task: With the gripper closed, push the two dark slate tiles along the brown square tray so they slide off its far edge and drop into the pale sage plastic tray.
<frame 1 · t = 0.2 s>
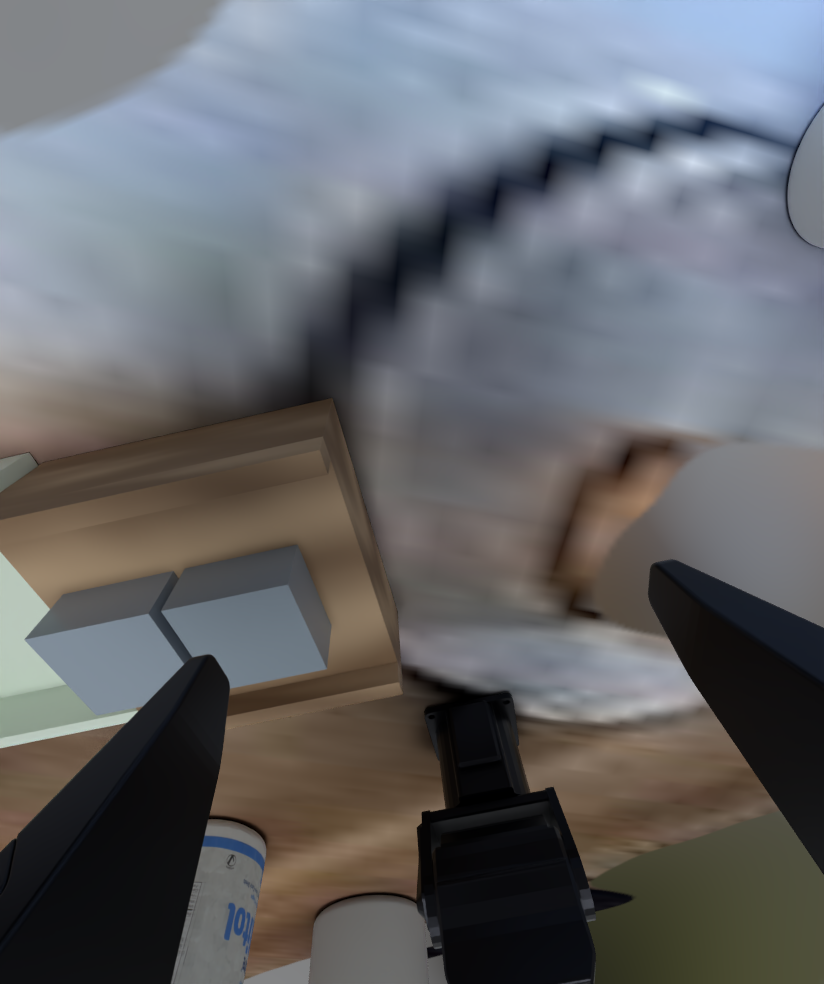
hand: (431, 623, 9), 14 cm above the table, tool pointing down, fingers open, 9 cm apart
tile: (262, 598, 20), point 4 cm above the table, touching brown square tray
supplement tub: (214, 838, 40), on the table
cylinder vase: (369, 912, 51), on the table
brown square tray: (244, 547, 24), on the table
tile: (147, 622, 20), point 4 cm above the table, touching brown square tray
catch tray: (5, 598, 25), on the table
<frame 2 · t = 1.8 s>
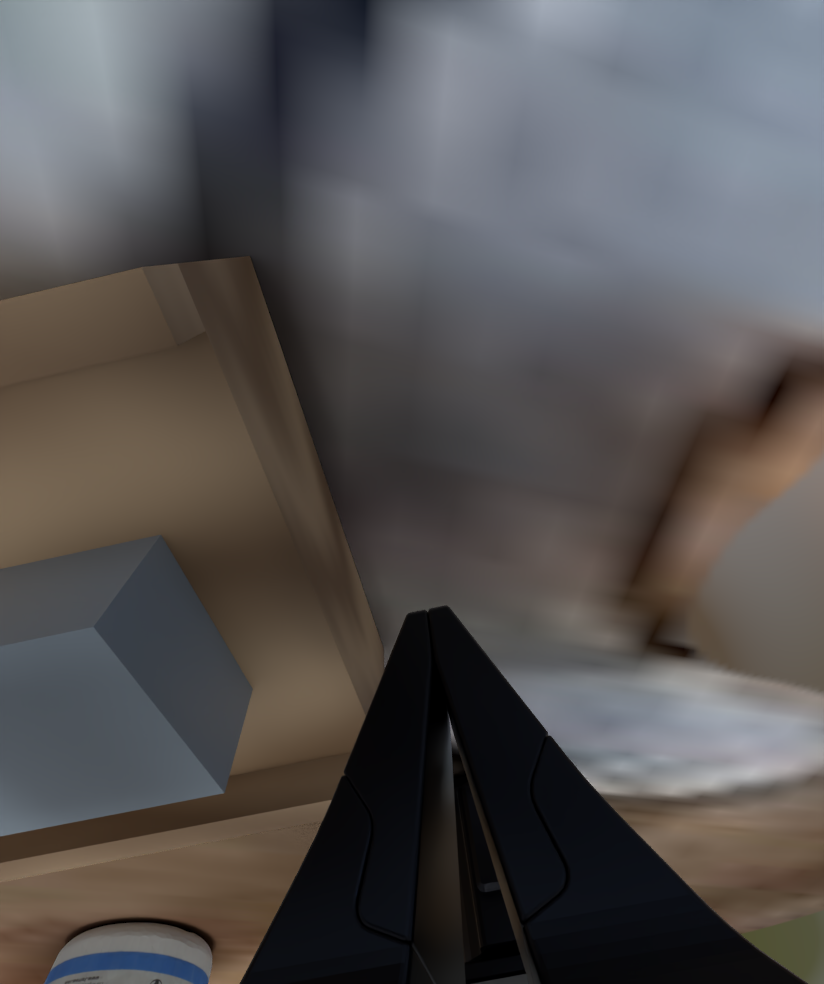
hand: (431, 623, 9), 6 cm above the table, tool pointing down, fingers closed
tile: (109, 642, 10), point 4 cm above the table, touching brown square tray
supplement tub: (142, 941, 30), on the table
brown square tray: (122, 545, 14), on the table
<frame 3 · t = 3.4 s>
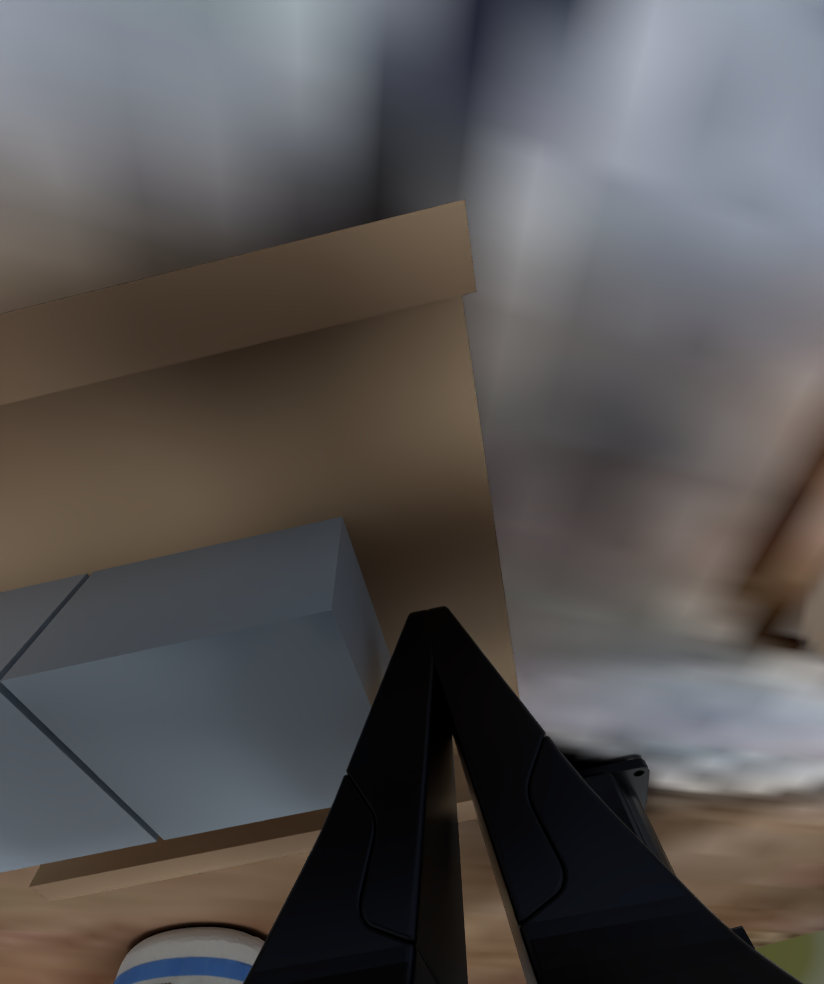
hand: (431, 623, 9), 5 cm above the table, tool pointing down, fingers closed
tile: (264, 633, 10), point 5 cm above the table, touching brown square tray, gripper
supplement tub: (204, 946, 29), on the table
brown square tray: (244, 534, 14), on the table
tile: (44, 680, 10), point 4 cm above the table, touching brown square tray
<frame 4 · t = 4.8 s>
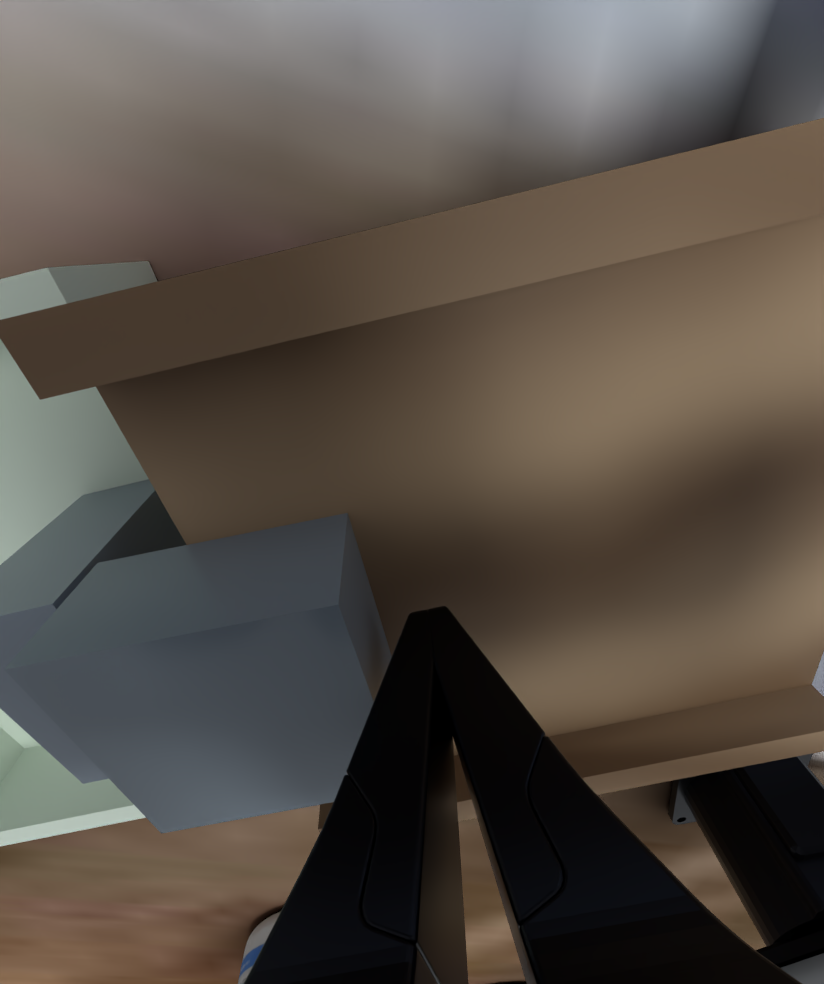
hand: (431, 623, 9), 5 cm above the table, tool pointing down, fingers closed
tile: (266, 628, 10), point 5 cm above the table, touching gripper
supplement tub: (323, 924, 29), on the table
brown square tray: (499, 478, 14), on the table
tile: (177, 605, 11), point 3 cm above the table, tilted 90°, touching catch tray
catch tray: (71, 573, 14), on the table
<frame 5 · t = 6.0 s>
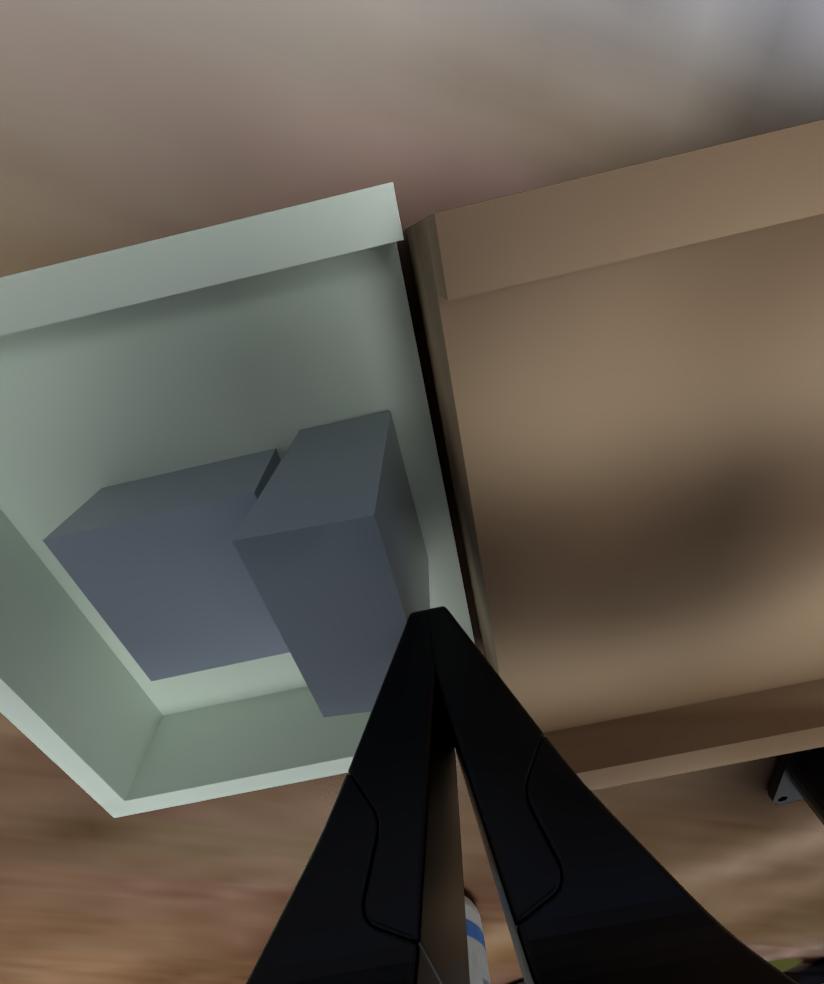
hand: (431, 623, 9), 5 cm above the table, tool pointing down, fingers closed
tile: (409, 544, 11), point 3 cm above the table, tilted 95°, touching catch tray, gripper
supplement tub: (404, 906, 29), on the table
brown square tray: (679, 437, 13), on the table
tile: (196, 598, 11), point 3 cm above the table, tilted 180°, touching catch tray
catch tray: (241, 532, 14), on the table
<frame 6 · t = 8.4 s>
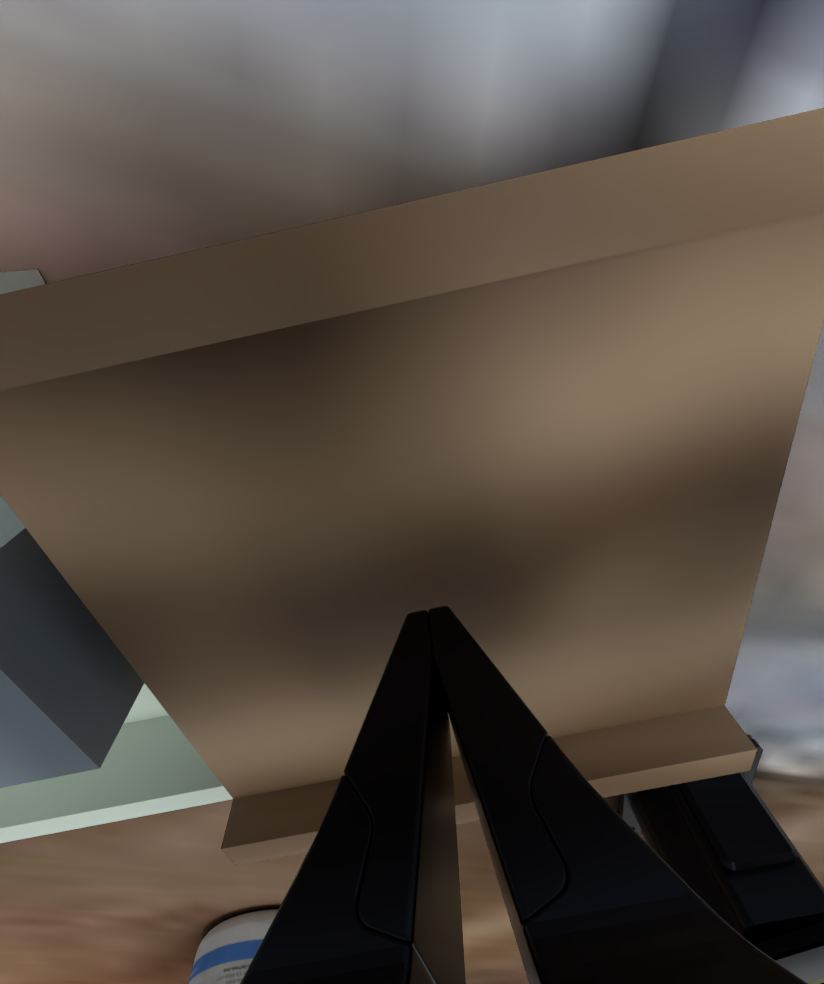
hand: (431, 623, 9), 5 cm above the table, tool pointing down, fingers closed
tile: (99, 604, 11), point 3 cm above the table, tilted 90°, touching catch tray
supplement tub: (277, 929, 29), on the table
brown square tray: (421, 493, 13), on the table
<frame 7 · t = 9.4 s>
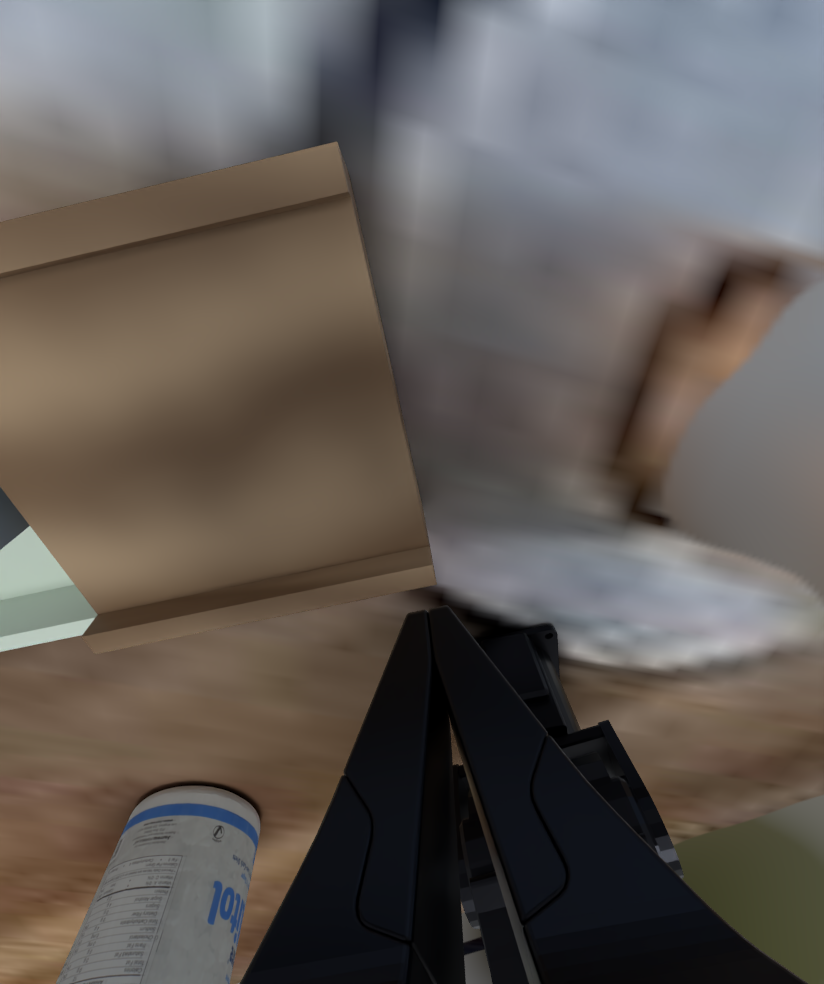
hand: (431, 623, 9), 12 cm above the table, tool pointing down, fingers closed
supplement tub: (200, 810, 35), on the table
brown square tray: (233, 407, 19), on the table
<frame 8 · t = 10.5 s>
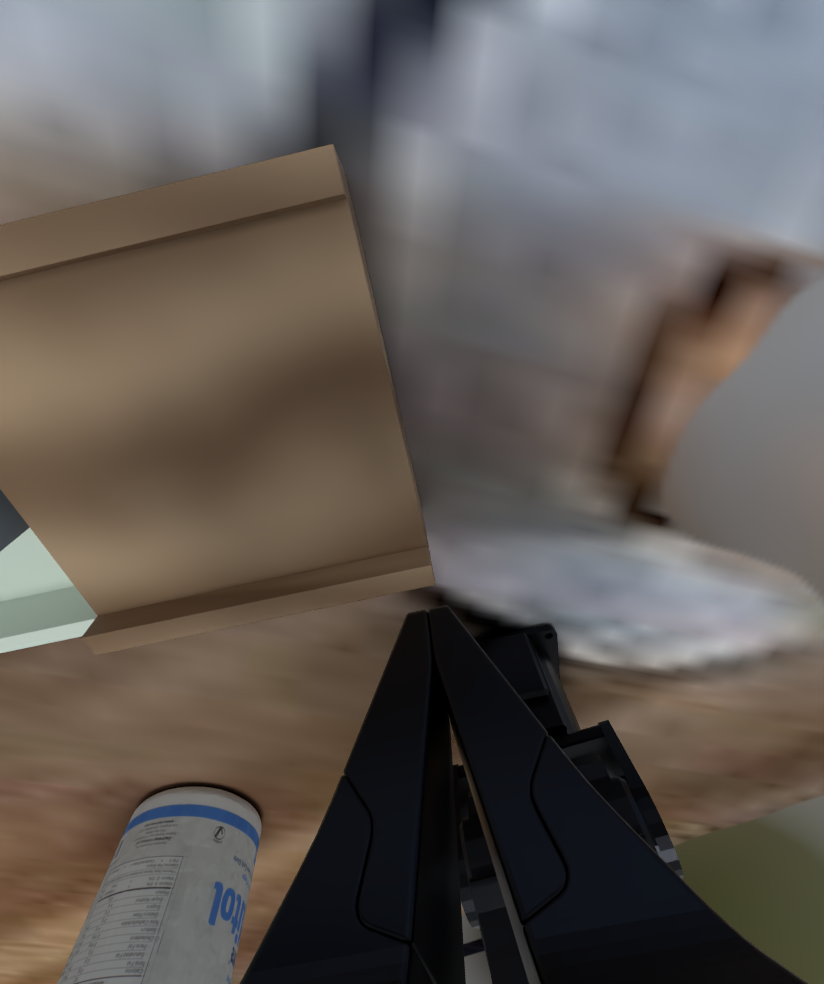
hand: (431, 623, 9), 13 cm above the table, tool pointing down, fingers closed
supplement tub: (201, 811, 35), on the table
brown square tray: (232, 408, 19), on the table
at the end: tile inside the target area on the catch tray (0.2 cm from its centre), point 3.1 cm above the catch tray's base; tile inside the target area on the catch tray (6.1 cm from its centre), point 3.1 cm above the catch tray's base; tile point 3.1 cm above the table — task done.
